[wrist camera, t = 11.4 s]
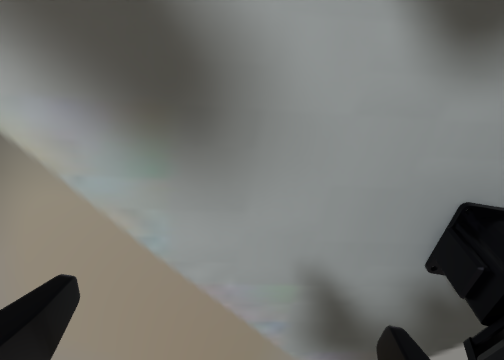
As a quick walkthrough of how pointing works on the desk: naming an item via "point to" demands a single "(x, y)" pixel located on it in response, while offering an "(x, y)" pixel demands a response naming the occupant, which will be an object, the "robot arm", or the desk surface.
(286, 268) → the desk surface
